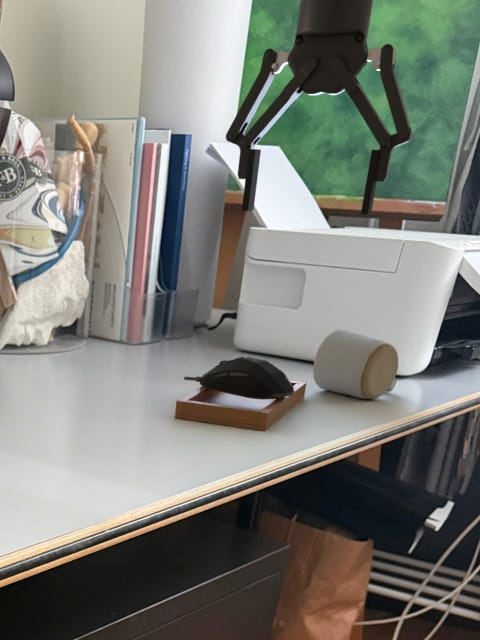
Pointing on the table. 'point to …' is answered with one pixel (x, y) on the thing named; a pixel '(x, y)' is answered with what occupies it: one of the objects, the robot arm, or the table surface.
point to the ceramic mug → (355, 365)
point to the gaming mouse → (247, 379)
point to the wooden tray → (236, 408)
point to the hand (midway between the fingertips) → (305, 212)
